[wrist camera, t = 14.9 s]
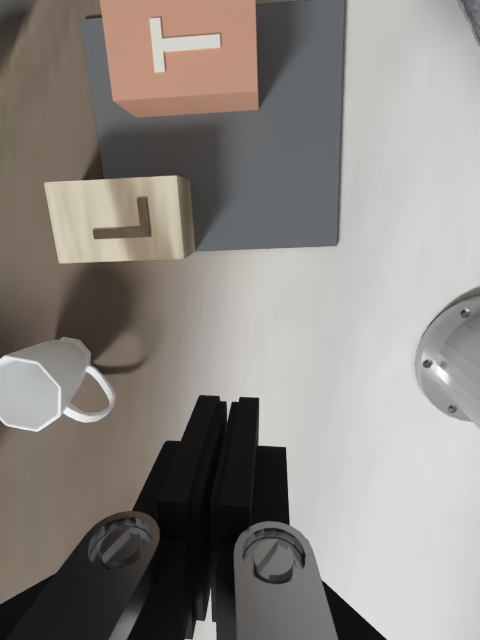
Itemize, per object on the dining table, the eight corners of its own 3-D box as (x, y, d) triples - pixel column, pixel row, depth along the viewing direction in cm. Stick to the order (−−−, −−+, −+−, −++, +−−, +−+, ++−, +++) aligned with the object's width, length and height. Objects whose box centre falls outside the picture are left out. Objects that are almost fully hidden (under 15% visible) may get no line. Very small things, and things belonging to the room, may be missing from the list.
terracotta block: (254, -20, 23) (98, -6, 24) (257, 90, 25) (112, 100, 25) (256, 20, 28) (126, 31, 28) (258, 109, 30) (136, 117, 30)
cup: (53, 310, 36) (-4, 338, 28) (142, 363, 37) (110, 403, 29) (26, 365, 38) (-34, 405, 30) (111, 413, 39) (74, 464, 31)
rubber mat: (343, 0, 27) (344, -3, 27) (335, 245, 33) (336, 245, 32) (83, 22, 29) (81, 19, 28) (116, 253, 34) (114, 254, 34)
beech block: (176, 175, 26) (42, 182, 27) (183, 259, 28) (58, 263, 29) (189, 180, 31) (76, 186, 32) (195, 251, 33) (87, 255, 34)
